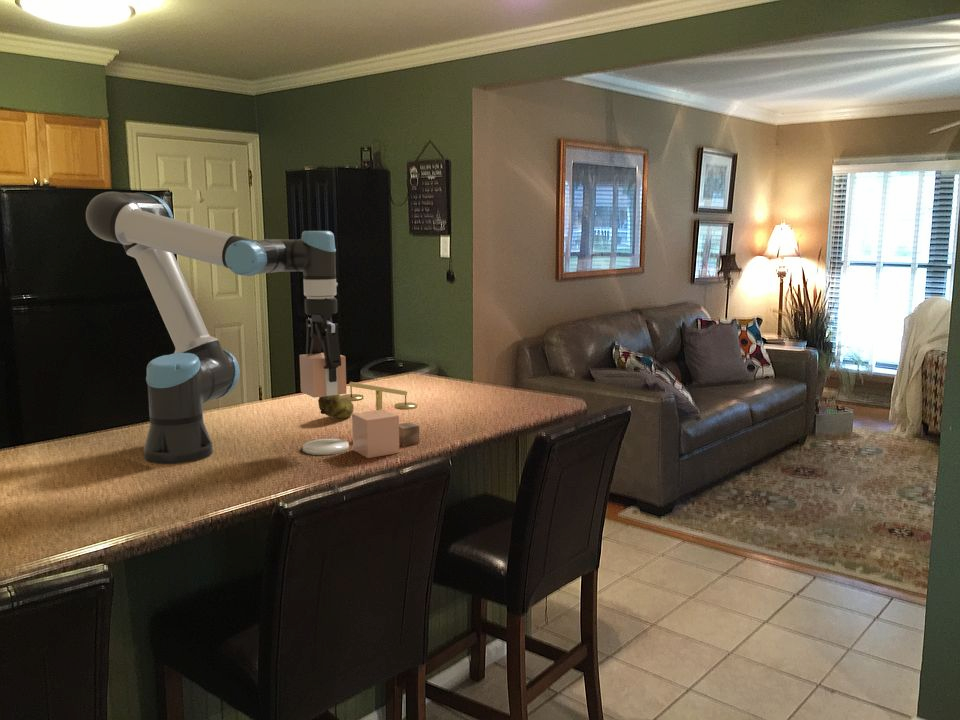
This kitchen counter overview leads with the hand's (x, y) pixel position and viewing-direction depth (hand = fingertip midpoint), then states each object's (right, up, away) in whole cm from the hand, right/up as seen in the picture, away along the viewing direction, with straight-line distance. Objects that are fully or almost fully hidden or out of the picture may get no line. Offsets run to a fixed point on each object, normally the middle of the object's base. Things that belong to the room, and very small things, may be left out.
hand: (324, 391), depth 193 cm
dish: (0, -14, +2) cm, 14 cm away
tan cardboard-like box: (+12, -14, 0) cm, 19 cm away
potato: (-3, -9, +33) cm, 34 cm away
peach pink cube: (0, 0, 0) cm, 0 cm away
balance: (+11, -12, +16) cm, 23 cm away
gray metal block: (+19, -13, +8) cm, 24 cm away
